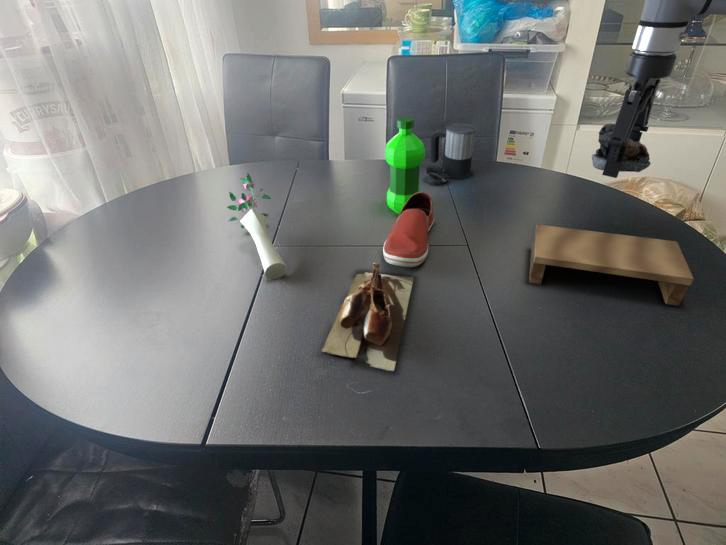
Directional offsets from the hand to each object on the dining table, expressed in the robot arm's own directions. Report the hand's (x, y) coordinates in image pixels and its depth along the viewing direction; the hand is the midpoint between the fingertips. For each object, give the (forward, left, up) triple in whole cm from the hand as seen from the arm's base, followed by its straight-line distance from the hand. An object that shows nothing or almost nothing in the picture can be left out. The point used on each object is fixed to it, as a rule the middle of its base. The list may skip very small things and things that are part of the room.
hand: (617, 168), depth 94 cm
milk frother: (+40, -32, -20) cm, 55 cm away
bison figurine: (0, 0, -1) cm, 1 cm away
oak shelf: (0, +13, -20) cm, 23 cm away
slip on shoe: (+42, +11, -20) cm, 48 cm away
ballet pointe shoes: (+43, +39, -20) cm, 61 cm away
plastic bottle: (+48, -6, -20) cm, 52 cm away
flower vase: (+78, +21, -20) cm, 83 cm away
